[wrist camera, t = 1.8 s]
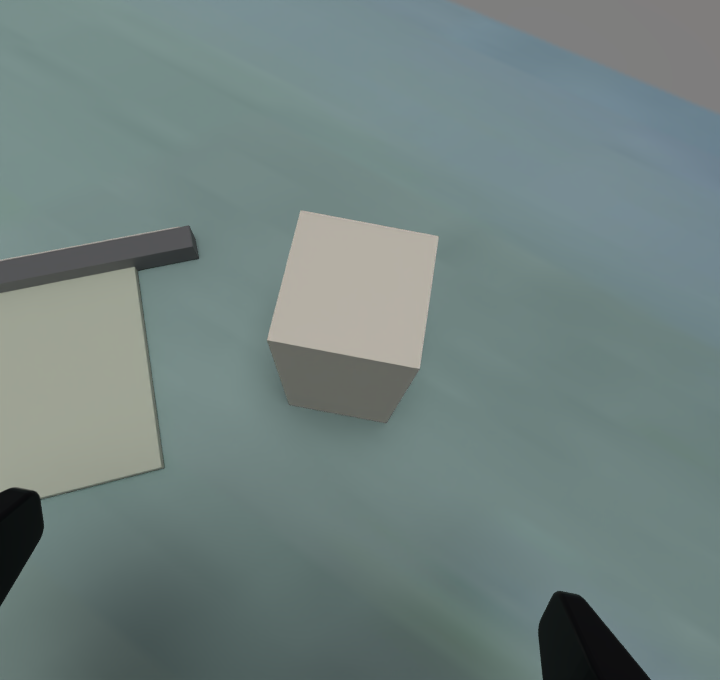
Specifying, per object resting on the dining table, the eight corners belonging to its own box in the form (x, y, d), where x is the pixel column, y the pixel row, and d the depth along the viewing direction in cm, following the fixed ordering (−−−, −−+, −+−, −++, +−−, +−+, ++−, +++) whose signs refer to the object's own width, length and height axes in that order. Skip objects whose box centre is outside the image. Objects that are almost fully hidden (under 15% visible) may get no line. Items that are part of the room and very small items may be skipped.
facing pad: (-85, 530, 21) (-92, 530, 20) (-81, 311, 24) (-87, 308, 23) (164, 468, 22) (161, 467, 22) (137, 269, 25) (134, 265, 25)
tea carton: (386, 423, 23) (419, 369, 15) (289, 404, 23) (267, 340, 15) (401, 329, 25) (439, 232, 16) (310, 312, 25) (301, 206, 16)
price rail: (-151, 327, 23) (-175, 317, 22) (-149, 301, 24) (-173, 290, 23) (198, 258, 26) (192, 246, 24) (194, 235, 26) (188, 222, 25)
